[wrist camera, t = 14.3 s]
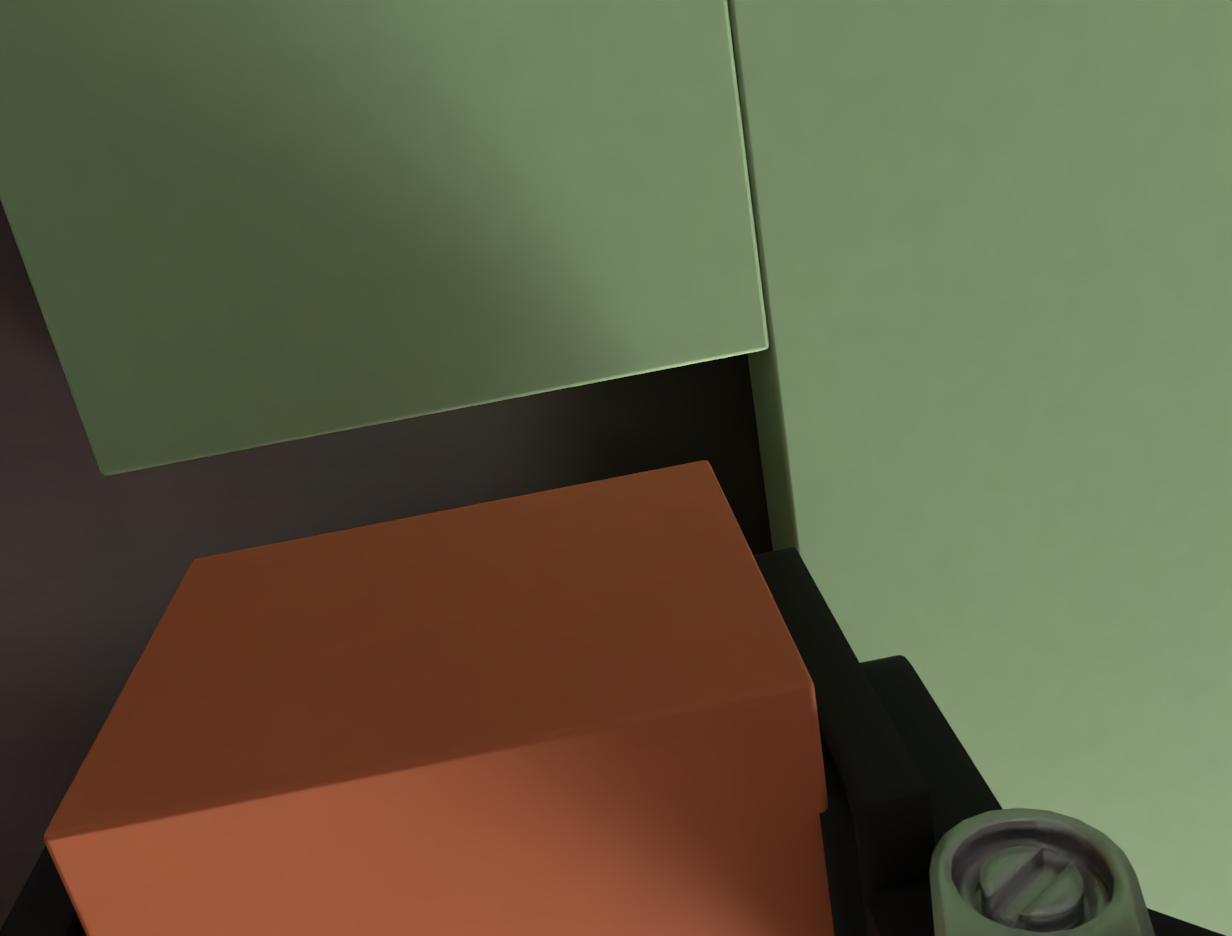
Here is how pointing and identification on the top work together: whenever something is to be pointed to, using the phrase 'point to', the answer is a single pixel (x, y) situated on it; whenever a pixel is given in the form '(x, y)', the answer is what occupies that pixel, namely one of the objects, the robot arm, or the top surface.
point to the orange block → (465, 734)
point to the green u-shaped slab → (720, 303)
